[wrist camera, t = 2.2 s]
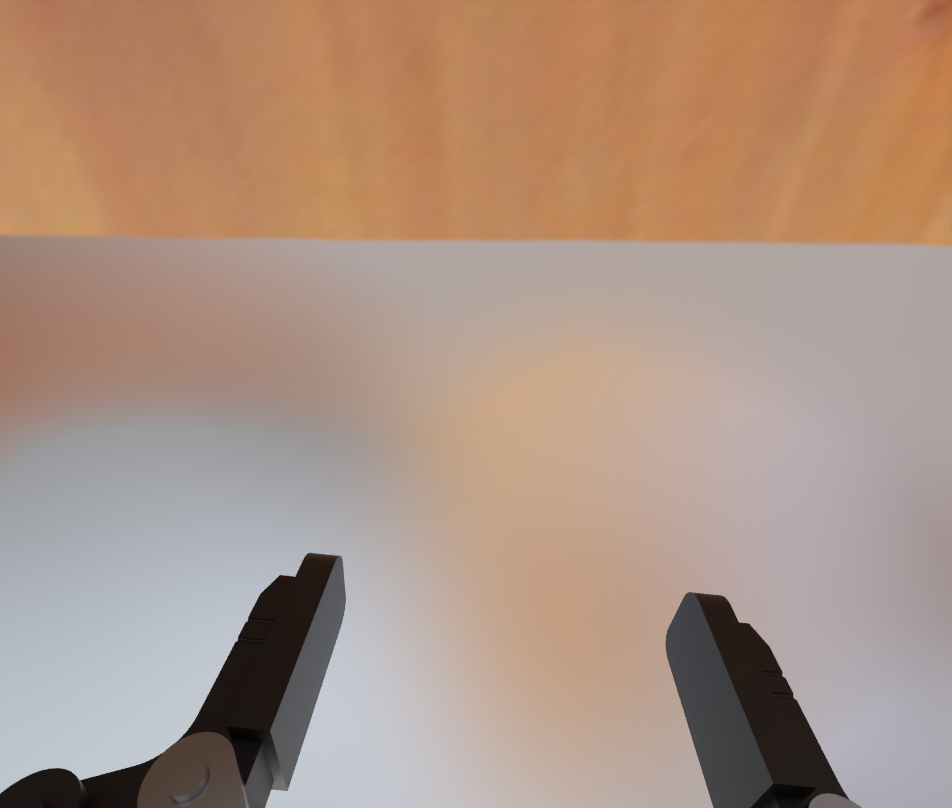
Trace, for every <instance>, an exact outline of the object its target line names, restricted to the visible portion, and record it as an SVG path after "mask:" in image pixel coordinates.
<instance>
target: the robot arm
mask: <svg viewBox="0 0 952 808" xmlns="http://www.w3.org/2000/svg"><path fill="white" fill-rule="evenodd" d="M345 602H346V595H345V584H344V574H343V562H342V558H341V556H335V555H325V554H315V553H308V554H307V555H306V556H305V558H304V560H303V562H302V564H301V566H300V568H299V570H298V572H297V575H296V577H293V576H283V575H280V576H279V577H278V578H276V580H275V581H273V582H272V583H271V585H269V586H268V587H267V588H266V589H265V590H264V591H263V592H262V593H261V594H260V596H259V598H258V600H257V602H256V604H255V606H254V607H253V609H252V611H251V613H250V615H249V617H248V622H246V623H245V625H244V627H243V629H242V631H241V633H240V635H239V636H238V641H237V642H235V644H234V646H233V648H232V650H231V652H230V654H229V656H228V658H227V660H226V662H225V664H224V665H223V667H222V669H221V671H220V673H219V675H218V677H217V679H216V681H215V683H214V685H213V687H212V689H211V691H210V692H209V695H208V696H207V698H206V700H205V702H204V704H203V706H202V708H201V710H200V712H199V714H198V716H197V717H196V719H195V721H194V722H193V724H192V725H191V727H190V728H189V729H188V731H187V732H186V733H185V734H184V735H183V736H182V737H181V738H180V739H179V740H178V741H177V742H176V743H175V744H173V745H172V746H171V747H169V748H168V749H167V750H166V751H165V752H164V753H162V754H160V755H159V756H157V757H155V758H154V759H151V760H149V761H147V762H145V763H142V764H139V765H136V766H133V767H129V768H125V769H121V770H117V771H114V772H110V773H106V774H103V775H99V776H95V777H91V778H87V779H84V780H79V779H78V778H77V776H76V775H74V774H73V773H72V772H71V771H68V770H66V769H60V768H56V769H55V768H54V769H47V770H42V771H39V772H36V773H33V774H31V775H29V776H27V777H25V778H23V779H21V780H19V781H18V782H16V783H14V784H13V785H11V786H10V787H9V788H7V789H6V790H5V791H3V792H2V793H1V794H0V808H265V806H266V803H267V800H268V797H269V794H270V791H271V789H274V790H283V791H287V790H288V787H289V784H290V781H291V778H292V775H293V772H294V769H295V766H296V763H297V760H298V756H299V754H300V750H301V747H302V744H303V741H304V738H305V735H306V732H307V729H308V726H309V723H310V720H311V717H312V714H313V710H314V707H315V704H316V701H317V698H318V695H319V692H320V689H321V686H322V683H323V680H324V677H325V673H326V670H327V667H328V664H329V661H330V658H331V655H332V652H333V649H334V645H335V643H336V639H337V636H338V633H339V630H340V627H341V624H342V620H343V616H344V610H345ZM666 651H667V658H668V661H669V665H670V667H671V671H672V674H673V677H674V681H675V684H676V687H677V691H678V694H679V697H680V700H681V704H682V707H683V709H684V713H685V717H686V720H687V723H688V726H689V730H690V733H691V736H692V739H693V743H694V746H695V749H696V752H697V755H698V759H699V762H700V765H701V768H702V772H703V775H704V778H705V781H706V785H707V788H708V791H709V794H710V798H711V801H712V804H713V807H714V808H861V807H860V806H859V805H857V804H855V803H854V802H852V801H850V800H849V798H848V797H847V795H846V794H845V792H844V791H843V789H842V787H841V786H840V784H839V782H838V780H837V778H836V776H835V774H834V772H833V771H832V768H831V767H830V765H829V763H828V761H827V759H826V757H825V755H824V753H823V751H822V749H821V747H820V745H819V743H818V741H817V739H816V737H815V735H814V733H813V731H812V729H811V727H810V725H809V724H808V722H807V719H806V718H805V716H804V714H803V712H802V710H801V708H800V706H799V704H798V702H797V700H796V699H794V698H793V692H792V690H791V688H790V686H789V685H788V682H787V680H786V678H784V677H783V676H782V670H781V669H780V667H779V665H778V663H777V661H776V659H775V657H774V655H773V653H772V651H771V649H770V647H769V646H768V645H767V644H766V643H765V641H764V640H763V639H762V638H761V637H760V636H759V634H758V633H757V632H756V631H755V630H754V629H753V628H752V627H751V625H750V624H748V623H739V622H738V620H737V618H736V616H735V613H734V611H733V609H732V607H731V605H730V603H729V602H728V600H727V599H726V598H725V597H723V596H721V595H711V594H701V593H691V592H689V593H687V594H686V595H685V596H684V598H683V600H682V602H681V604H680V606H679V608H678V610H677V612H676V614H675V616H674V619H673V620H672V623H671V624H670V626H669V628H668V631H667V635H666Z"/></svg>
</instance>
